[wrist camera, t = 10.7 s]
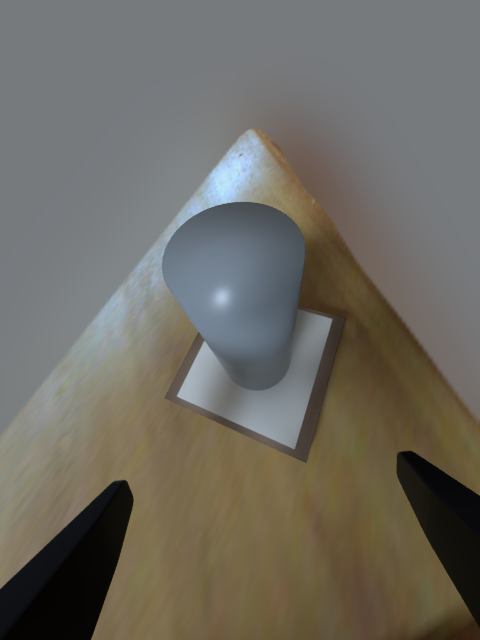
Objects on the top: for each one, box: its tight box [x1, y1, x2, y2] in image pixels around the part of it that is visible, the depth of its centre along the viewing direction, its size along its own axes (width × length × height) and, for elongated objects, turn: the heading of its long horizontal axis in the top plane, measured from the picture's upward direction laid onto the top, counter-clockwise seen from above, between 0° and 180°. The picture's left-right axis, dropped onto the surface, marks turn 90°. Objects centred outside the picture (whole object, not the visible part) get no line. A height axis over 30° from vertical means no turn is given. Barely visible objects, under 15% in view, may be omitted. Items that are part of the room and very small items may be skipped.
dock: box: [165, 306, 345, 463], centre depth 22 cm, size 12×12×3 cm
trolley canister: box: [162, 202, 306, 391], centre depth 15 cm, size 6×6×13 cm
